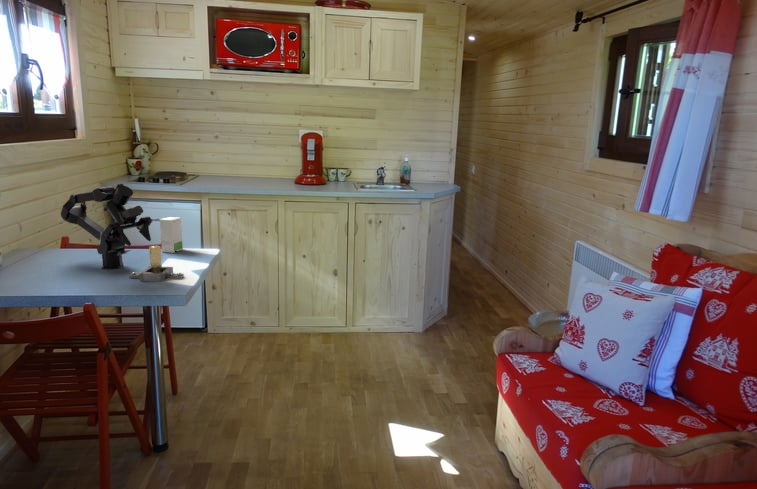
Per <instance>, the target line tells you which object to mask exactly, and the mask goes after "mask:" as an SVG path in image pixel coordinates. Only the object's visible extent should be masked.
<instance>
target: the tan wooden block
mask: <svg viewBox="0 0 757 489" xmlns="http://www.w3.org/2000/svg"><path fill="white" fill-rule="evenodd" d="M148 248H149V249H148V250H149V261H150V264H149V265H150V266H151V272H154V273H162V267H163V264H162V247H161V245H150V246H148Z"/></svg>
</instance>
